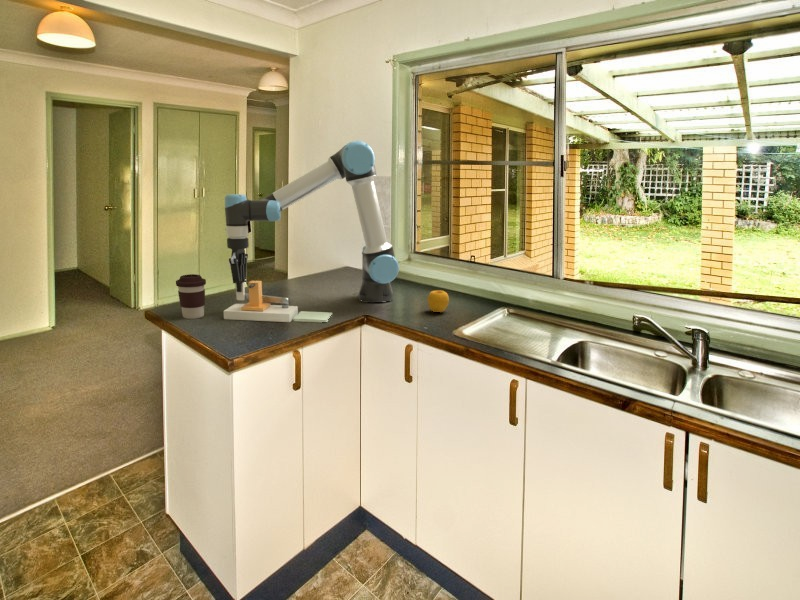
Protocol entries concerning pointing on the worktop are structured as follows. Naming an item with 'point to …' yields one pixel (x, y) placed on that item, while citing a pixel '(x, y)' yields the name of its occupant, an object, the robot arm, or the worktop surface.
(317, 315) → the pad
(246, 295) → the grey metal rod
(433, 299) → the apple
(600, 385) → the worktop surface
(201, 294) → the coffee cup
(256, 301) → the plug
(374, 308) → the worktop surface
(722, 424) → the worktop surface
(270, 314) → the socket block
